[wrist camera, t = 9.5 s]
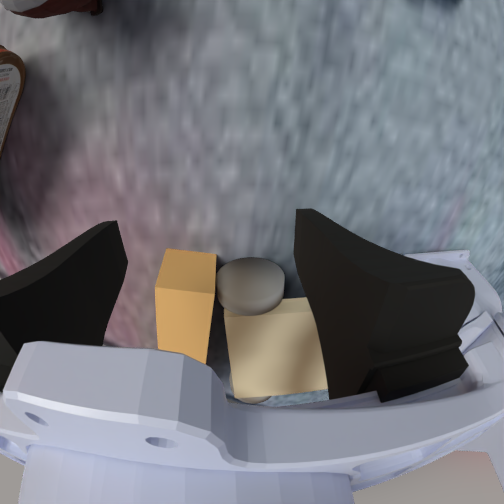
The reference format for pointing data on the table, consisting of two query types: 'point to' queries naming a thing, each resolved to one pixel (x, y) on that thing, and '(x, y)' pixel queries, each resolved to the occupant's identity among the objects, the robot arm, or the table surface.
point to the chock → (185, 302)
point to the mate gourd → (51, 7)
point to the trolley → (267, 333)
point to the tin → (9, 89)
